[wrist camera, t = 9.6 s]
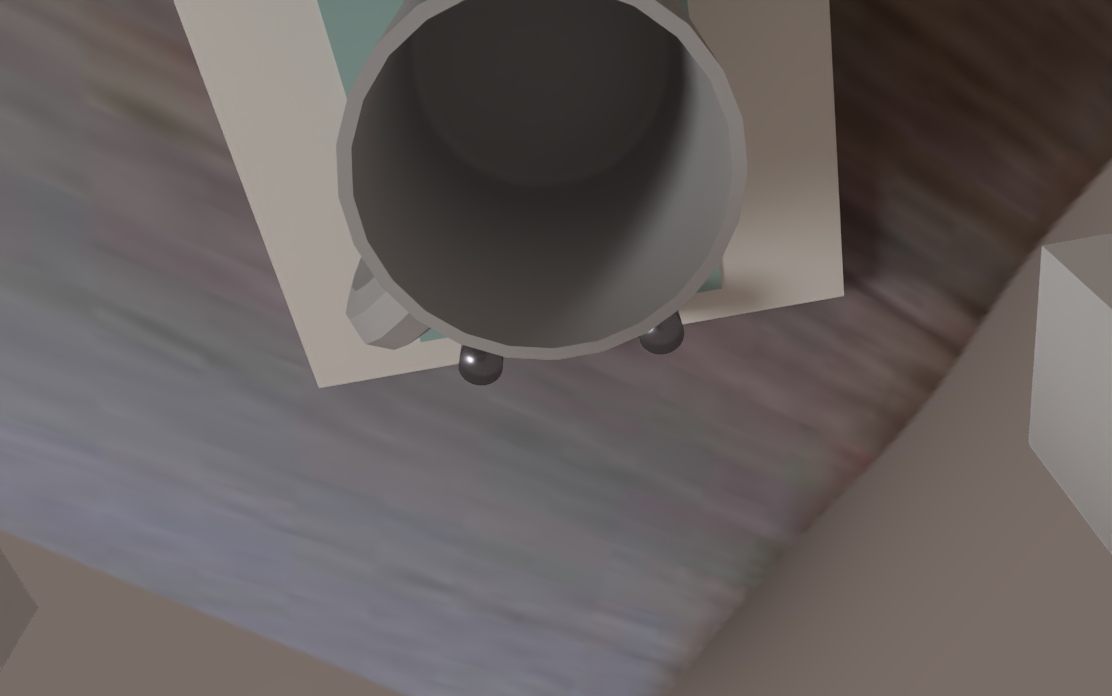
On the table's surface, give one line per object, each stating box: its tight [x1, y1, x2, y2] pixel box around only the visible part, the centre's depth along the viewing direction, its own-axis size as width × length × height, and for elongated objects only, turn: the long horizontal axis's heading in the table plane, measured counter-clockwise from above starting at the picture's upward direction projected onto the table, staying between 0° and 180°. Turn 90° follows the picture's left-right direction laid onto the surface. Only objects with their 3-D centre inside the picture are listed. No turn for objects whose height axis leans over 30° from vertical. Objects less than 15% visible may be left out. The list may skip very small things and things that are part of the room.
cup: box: [336, 0, 748, 360], centre depth 21 cm, size 7×10×9 cm
